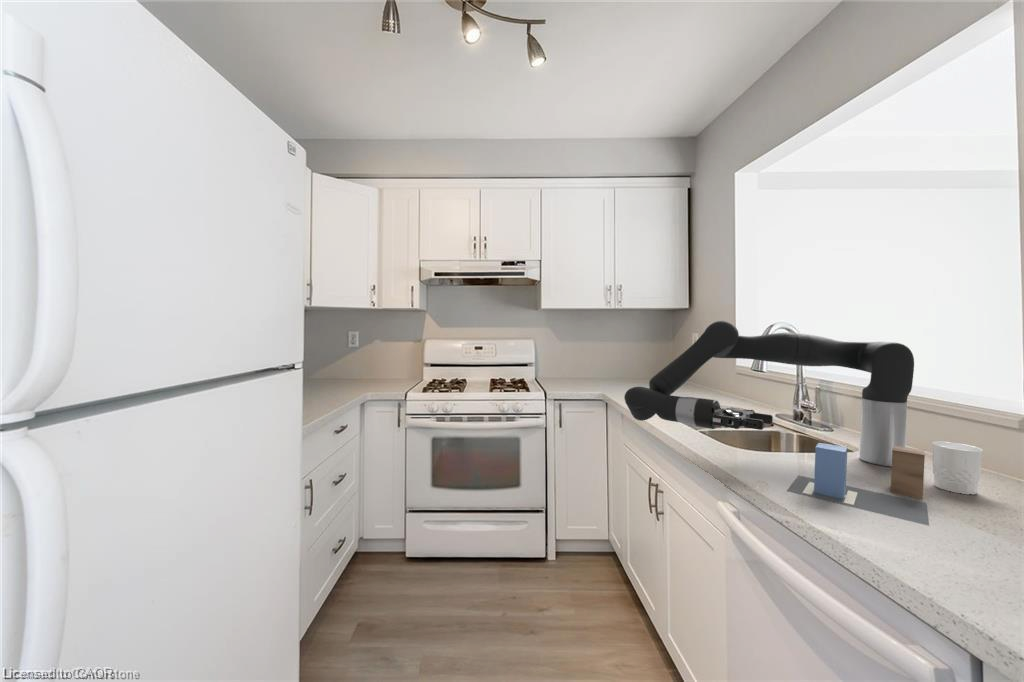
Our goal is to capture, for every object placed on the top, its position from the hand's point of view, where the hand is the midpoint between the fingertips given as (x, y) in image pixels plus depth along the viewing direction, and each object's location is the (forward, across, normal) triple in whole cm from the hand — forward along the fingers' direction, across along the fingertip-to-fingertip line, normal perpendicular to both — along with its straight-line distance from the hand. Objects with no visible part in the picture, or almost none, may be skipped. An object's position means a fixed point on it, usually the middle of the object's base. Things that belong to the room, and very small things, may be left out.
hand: (768, 422), depth 97 cm
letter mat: (+16, +1, +14) cm, 21 cm away
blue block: (+12, 0, +13) cm, 18 cm away
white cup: (+32, +26, +14) cm, 44 cm away
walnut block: (+24, +13, +14) cm, 31 cm away
